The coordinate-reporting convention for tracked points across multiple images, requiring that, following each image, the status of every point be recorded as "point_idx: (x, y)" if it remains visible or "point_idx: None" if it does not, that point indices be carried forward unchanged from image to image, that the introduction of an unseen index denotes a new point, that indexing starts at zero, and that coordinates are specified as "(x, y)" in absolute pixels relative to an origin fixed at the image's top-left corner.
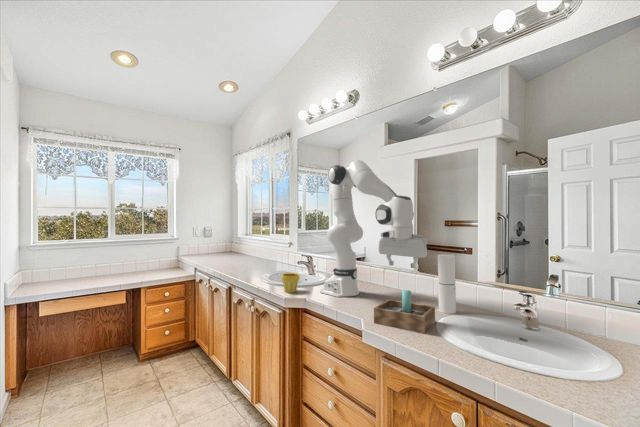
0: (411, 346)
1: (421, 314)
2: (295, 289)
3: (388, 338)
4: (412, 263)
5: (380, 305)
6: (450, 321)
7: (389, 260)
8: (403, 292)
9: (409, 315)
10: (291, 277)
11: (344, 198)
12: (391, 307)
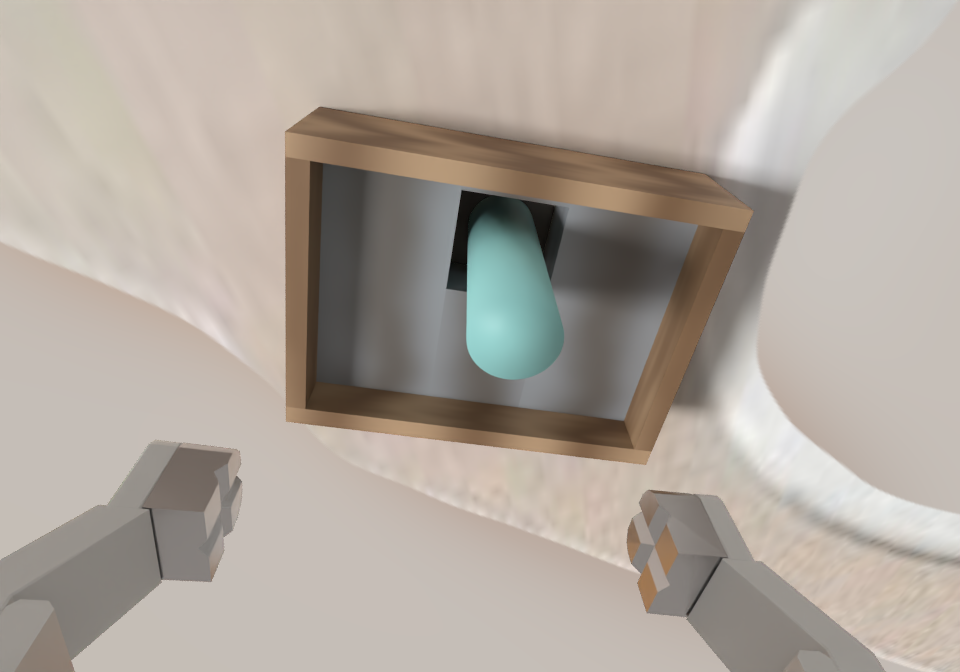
0: (568, 536)
1: (620, 278)
2: None
3: (459, 506)
4: (687, 592)
5: (303, 351)
6: (825, 122)
7: (128, 596)
8: (489, 368)
9: (552, 448)
10: None
11: None
12: (355, 189)
